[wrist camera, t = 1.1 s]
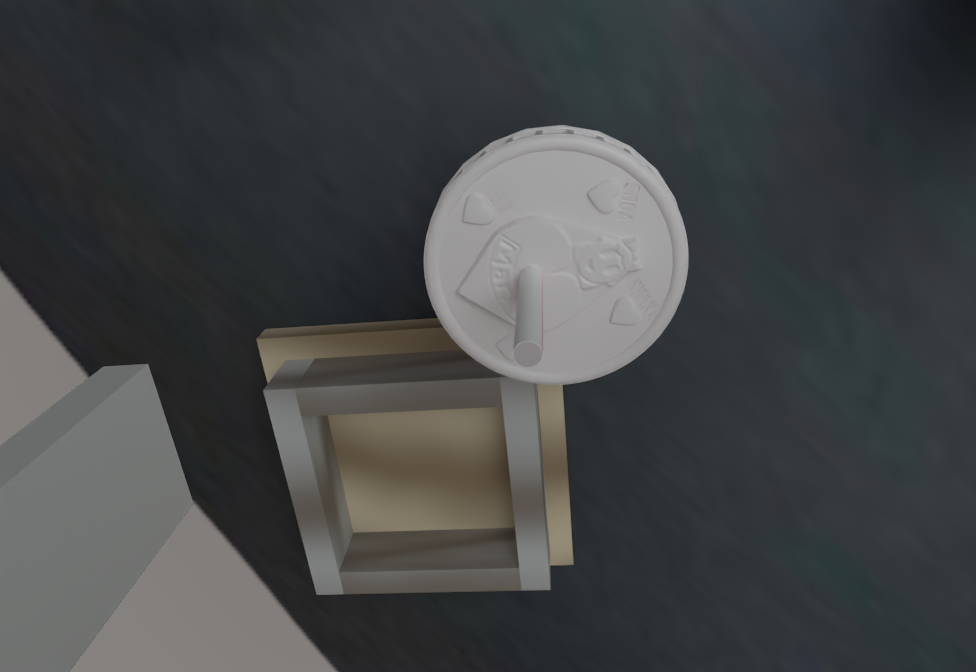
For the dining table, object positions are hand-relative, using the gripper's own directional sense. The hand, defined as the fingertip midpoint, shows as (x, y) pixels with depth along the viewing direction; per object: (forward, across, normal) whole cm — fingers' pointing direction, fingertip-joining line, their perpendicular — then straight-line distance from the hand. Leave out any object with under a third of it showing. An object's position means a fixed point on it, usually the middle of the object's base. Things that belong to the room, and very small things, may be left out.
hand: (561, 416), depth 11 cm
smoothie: (+16, 0, 0) cm, 16 cm away
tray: (+16, -6, -11) cm, 20 cm away
